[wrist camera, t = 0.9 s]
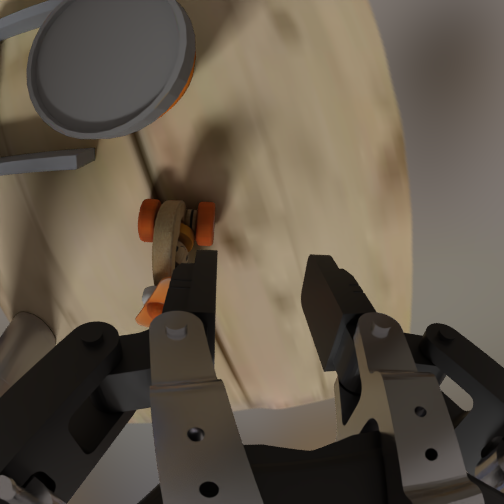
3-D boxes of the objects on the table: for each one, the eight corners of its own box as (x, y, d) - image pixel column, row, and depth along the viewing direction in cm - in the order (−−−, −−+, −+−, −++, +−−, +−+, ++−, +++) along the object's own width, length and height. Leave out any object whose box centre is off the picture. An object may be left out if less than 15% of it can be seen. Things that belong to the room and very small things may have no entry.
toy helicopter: (217, 188, 35) (212, 237, 23) (208, 329, 44) (205, 405, 32) (147, 184, 34) (106, 230, 22) (153, 325, 43) (135, 399, 31)
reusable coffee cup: (108, 138, 31) (39, 165, 18) (92, 41, 25) (19, 16, 12) (214, 113, 31) (205, 117, 18) (198, 11, 25) (180, -48, 12)
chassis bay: (105, 1, 23) (86, -13, 18) (94, 160, 32) (73, 171, 27) (-10, 36, 21) (-35, 33, 16) (-14, 170, 30) (-39, 181, 25)
